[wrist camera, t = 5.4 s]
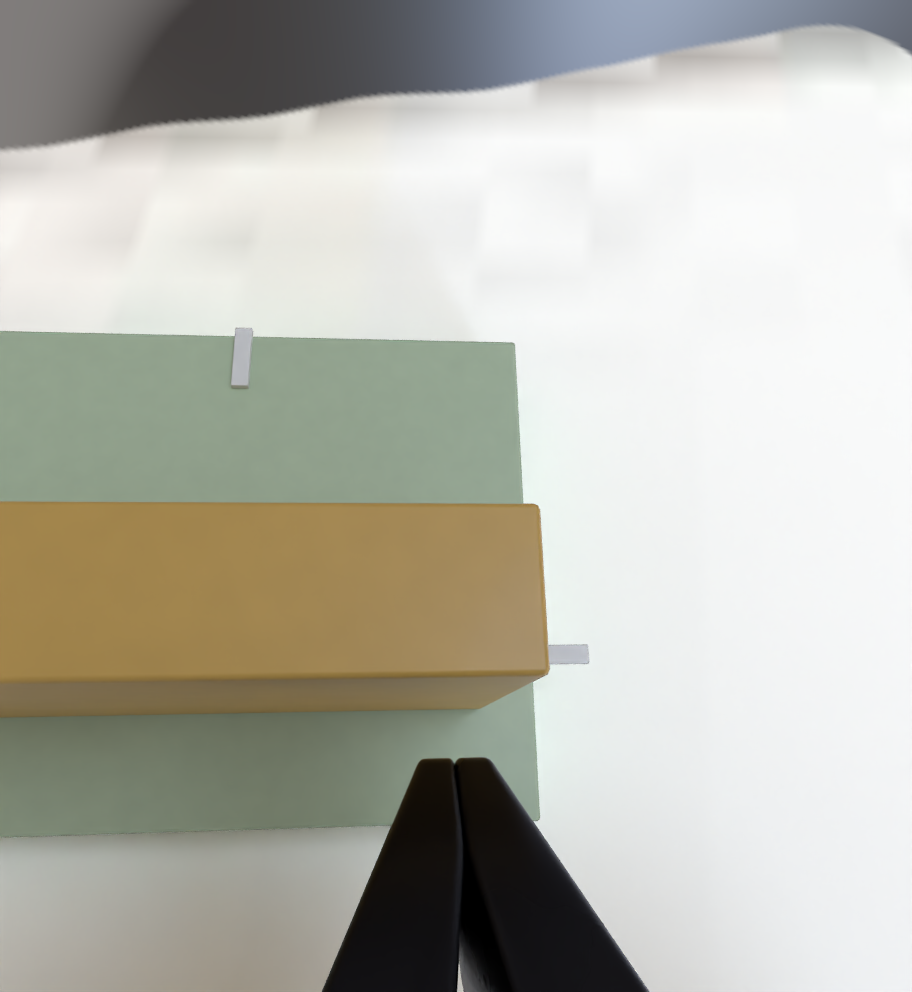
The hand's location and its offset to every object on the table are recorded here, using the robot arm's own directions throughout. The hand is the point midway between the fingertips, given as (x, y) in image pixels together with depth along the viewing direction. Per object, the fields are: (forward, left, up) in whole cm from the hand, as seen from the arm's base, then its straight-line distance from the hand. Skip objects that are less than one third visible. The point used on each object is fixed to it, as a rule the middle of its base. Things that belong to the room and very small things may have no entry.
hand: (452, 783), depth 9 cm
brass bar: (+4, +2, -5) cm, 7 cm away
